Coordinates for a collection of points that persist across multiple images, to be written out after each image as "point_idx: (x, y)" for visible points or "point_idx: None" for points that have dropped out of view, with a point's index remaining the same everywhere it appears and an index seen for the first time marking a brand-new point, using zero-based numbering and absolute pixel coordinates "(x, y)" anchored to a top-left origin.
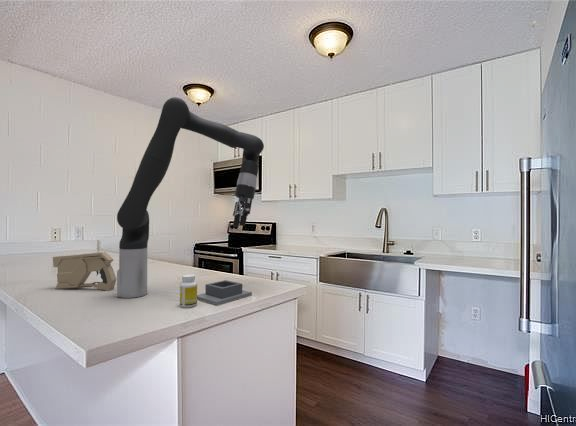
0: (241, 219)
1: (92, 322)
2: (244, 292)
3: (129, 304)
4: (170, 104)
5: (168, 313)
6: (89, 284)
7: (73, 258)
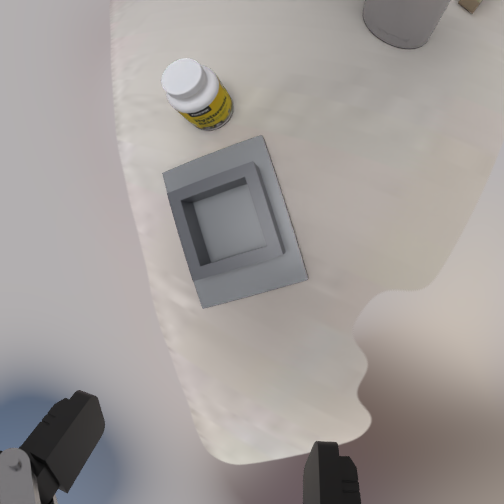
0: (54, 429)
1: None
2: (209, 287)
3: (304, 3)
4: None
5: None
6: None
7: None
